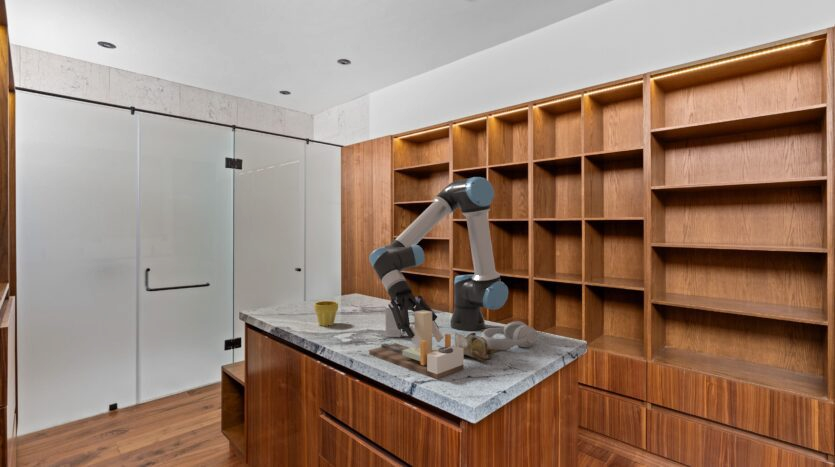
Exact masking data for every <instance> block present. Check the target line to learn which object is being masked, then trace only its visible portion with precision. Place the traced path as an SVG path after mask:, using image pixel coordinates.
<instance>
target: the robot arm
mask: <svg viewBox="0 0 835 467" xmlns="http://www.w3.org/2000/svg"><path fill="white" fill-rule="evenodd" d="M494 197H495V190H494V187H493V185H492V183H491V182H490V181H489V180H488V179H487V178H485V177H481V176H473V177H469V178H464V179H463V178H462V179H457V180H456V179H455V180H454V181H452V182H451V183H449V184H447V185H446V187H444V188H443V189H442V190H441V191H440V192H439V193H438V194H436V196H435V197H434V198H433V200H432V201H433V202H432V203H431V204H430V205H429V206H428V207H427V208H425V210H423V212H421V214H420V215H419V216H417V218H415V220H413V221H412V223H410V224H409V225H408V226H407V227H406V228H405V229H404V230H403V231H402V232H401V233H400V234H399V235H398V236H397V237H396V238H395V239H394V240H393V241H392V242H391V243H390V244H388V245H384V246H382V247H379V248H376V249H374V250H373V251H372V252H371V253H370V255H369V259H368V260H369V262H370V265H371V267H372V269H373V270H374V272H375V273H376V275H377V277H378V278H379V280H380V282H381V283H382V285H383V287H384V289H385V291H386V292H387V294H388V296H389V297H390V301H389V303H388V305H387V306H389V308H390V309H391V311H392V313H393V316H394V319H395V322H396V325H397V328H398V329H399V330H401V332H403V333H404V332H405V333H406V335H407V337H408V338H409V339H411V341H412V342H413V344H414V345H415V346H416V348H419V347H420V346H421V339H420V337H419V336H418V334H417V332H416V330H415V329H414V326H413V324H412V325H411V324H410V318H409V316H410V315H409V311H411V312H413V313H415V312H416V311H421V310H426V311H431V312H432V336H433V337H434V338H435V340H436V342H437V343H440V342H441V341H442V340H443V338H444V335H443V334H442V331H441V330H440V327H439V326H438V324H437V322H436V320H437V318H438V316H437V314H436V313H435V311H433V310H432V308H431V307H430V306H429V305H428V304H427V303H426V301H425V300H424V298H423V296H422V295H418V296H415V295H414V294H413V293H412V288H411V286H410V285H409V283H408V281H407V280H406V278H405V276H404V274H403V273H402V272H403V271H405V270H408V269H412V268H414V267H415V268H416V267H417V266H421V265H422V264H424V262H425V256H426V255H425V253H424V250H423V248H422V247H421V245H418V244H419V242H420V241H421V240H423V239H424V237H426V235H428V234H429V233H430V231H431V230H433V228H435V227H436V225H437V224H439V222H441V221H442V220H443V218H445V217H446V216H448V215H449V216H450V215H451V214H452V213H453V212H454V211H456V210H457V209H460V211H461V212H460V213H461V214H462V216H464V217H465V218H466V224H467V231H468V232H467V233H468V238H469V245H470V250H471V259H472V264H473V272H474V274H461V275H456V276H455V277H454V284H453V285H454V286H453V287H454V289H453V293H454V296H453V297H454V298H453V299H454V300H453V301H454V308H453V313H452V314H451V315H452V316H451V317H450V327H451V328H452V329H455V330H460V331H461V330H462V331H478V330H483V329H484V328H485V324H486V323H485V322H486V321H485V318H484V315H483V313H482V308H484V309H486V310H499V309H500V308H502V307H503V306H504V305H505V304H506V302H507V300H508V297H509V288H508V286H507V285H506V283H505V282H504V281H501V274H500V272H498V271H497V270H496V263H495V258H494V252H493V244H492V238H491V231H490V224H489V218H488V217H489V216H488V212H490V210H491V204H492V203H493V201H494ZM401 271H402V272H401ZM399 308H400V310H399Z"/></svg>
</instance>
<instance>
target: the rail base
mask: <svg viewBox="0 0 835 467" xmlns="http://www.w3.org/2000/svg"><path fill="white" fill-rule="evenodd" d="M409 348H410V347H409V346H406V345H403V344H400V343H396V342H395V343H391V344H388V343H383V344H381V346H379V347H376V348H372V349H369V350H368V355H369V354H370V356H372V355H373V357H376V358H378V359H380V360H383V361H386V362H388V363H391V364H395V365H398V366H400V367H403V368H405V369H408V370H411V371H413V372H416V373H419V374H422V375H424V376H427V377H430V378H432V379H435V380H439V379H442V378H444V377H448V376H449V375H452V374H456V373H457V372H460V371H463V370H464V364H463V365H461V366H458V367H455V368H453V369H450V370H447V371H444V372H442V373H439V374H435V373H432V372H429V371H427V364H426V365H421V361H418V360H415V359H412V358H409V357H406V356H403V355H402V350H405V349H409Z"/></svg>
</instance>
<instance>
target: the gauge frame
mask: <svg viewBox="0 0 835 467" xmlns="http://www.w3.org/2000/svg"><path fill="white" fill-rule="evenodd" d="M451 335H452V334H450V333H446V334H445V335H444V347H451V346H452V344H451V342H452V340H451V337H452V336H451ZM435 351H438V350H435ZM435 351H432V352H435ZM432 352H429V353H432ZM429 353H427V341H425V340H423V341H421V365H426V364H427V354H429Z"/></svg>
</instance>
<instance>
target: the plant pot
mask: <svg viewBox="0 0 835 467" xmlns="http://www.w3.org/2000/svg"><path fill="white" fill-rule="evenodd" d="M337 311H339V302H337V301H336V300H335V301H334V300H322V301H317V302H315V303H314V312H315V314H316V318H317V322H318V325H319V326H320V325H322V326H321V327H329V326H328V325H331V326H333V325H334V324H335V320H336V315H337Z"/></svg>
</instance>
